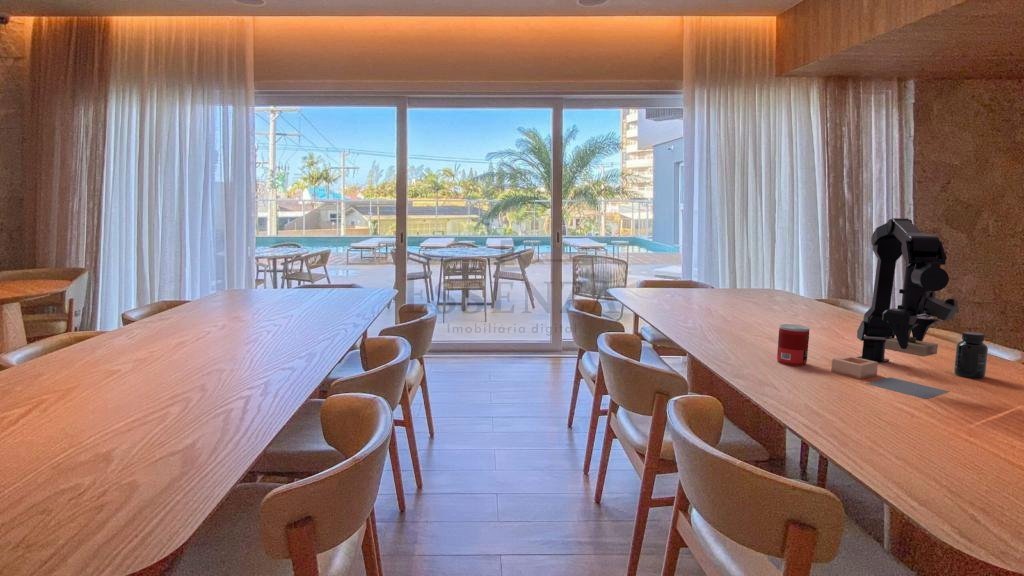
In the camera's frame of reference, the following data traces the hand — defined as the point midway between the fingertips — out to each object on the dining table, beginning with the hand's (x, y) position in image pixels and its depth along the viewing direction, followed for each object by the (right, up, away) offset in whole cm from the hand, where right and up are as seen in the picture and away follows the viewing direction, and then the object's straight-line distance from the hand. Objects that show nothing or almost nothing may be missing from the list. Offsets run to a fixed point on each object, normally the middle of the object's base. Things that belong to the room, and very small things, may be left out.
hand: (910, 347), depth 146 cm
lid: (0, -1, 0) cm, 1 cm away
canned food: (-18, -8, +25) cm, 32 cm away
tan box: (-6, -9, +14) cm, 18 cm away
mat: (0, -11, +1) cm, 11 cm away
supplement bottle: (+26, -10, +14) cm, 31 cm away
